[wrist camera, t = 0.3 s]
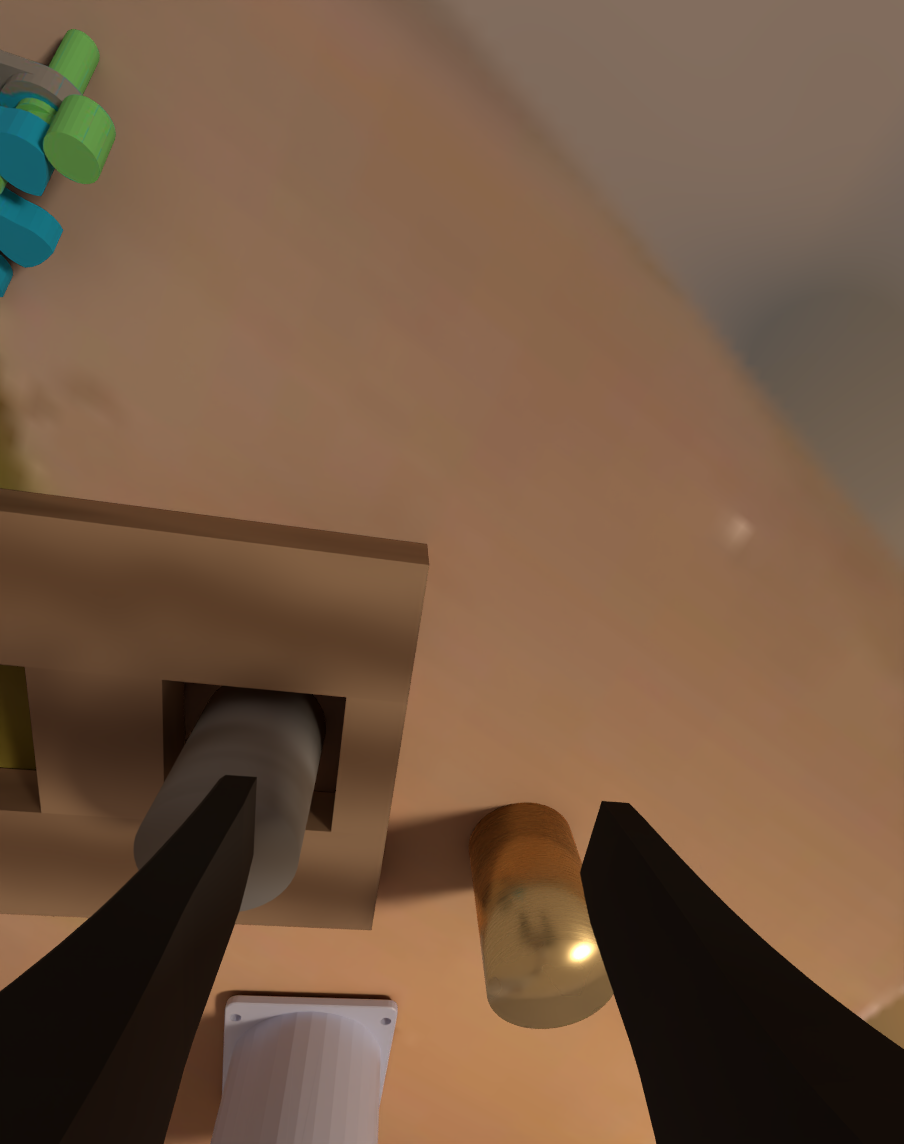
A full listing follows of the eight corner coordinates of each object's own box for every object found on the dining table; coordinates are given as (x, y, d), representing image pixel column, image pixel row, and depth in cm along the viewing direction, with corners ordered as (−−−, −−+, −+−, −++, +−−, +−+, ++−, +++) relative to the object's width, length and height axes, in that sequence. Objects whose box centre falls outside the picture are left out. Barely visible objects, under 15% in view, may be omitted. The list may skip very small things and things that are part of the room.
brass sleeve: (558, 884, 26) (600, 1030, 21) (460, 878, 26) (475, 1027, 20) (582, 806, 25) (633, 942, 19) (478, 798, 24) (500, 936, 18)
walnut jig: (373, 887, 25) (364, 1040, 20) (-134, 859, 23) (-309, 1026, 17) (427, 544, 20) (435, 623, 14) (-240, 457, 17) (-550, 511, 12)
